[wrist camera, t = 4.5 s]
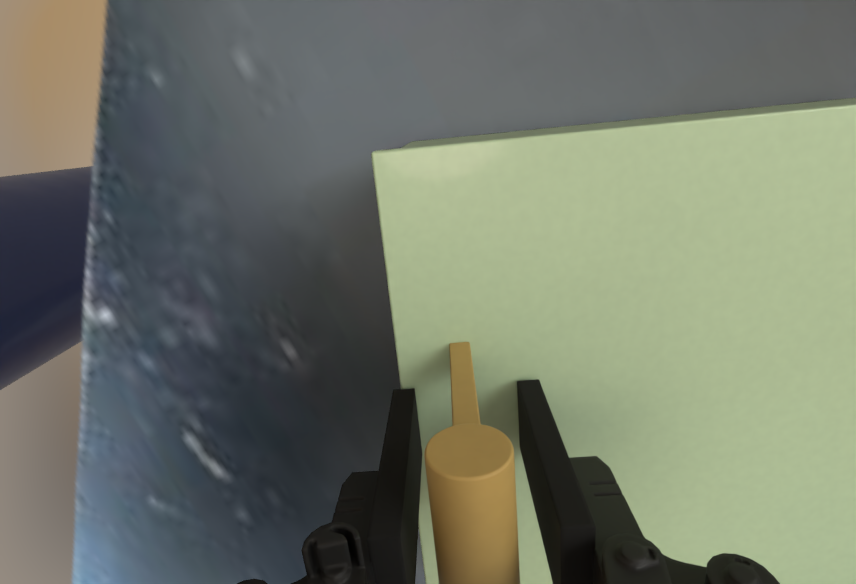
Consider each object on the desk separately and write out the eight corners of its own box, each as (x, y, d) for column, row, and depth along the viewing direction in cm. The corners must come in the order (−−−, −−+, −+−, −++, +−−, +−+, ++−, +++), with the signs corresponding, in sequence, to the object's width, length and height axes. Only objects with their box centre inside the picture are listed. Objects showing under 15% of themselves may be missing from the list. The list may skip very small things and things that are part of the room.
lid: (429, 591, 21) (422, 836, 14) (373, 150, 15) (312, 173, 8) (893, 568, 20) (1151, 820, 13) (1025, 86, 14) (1637, 45, 7)
